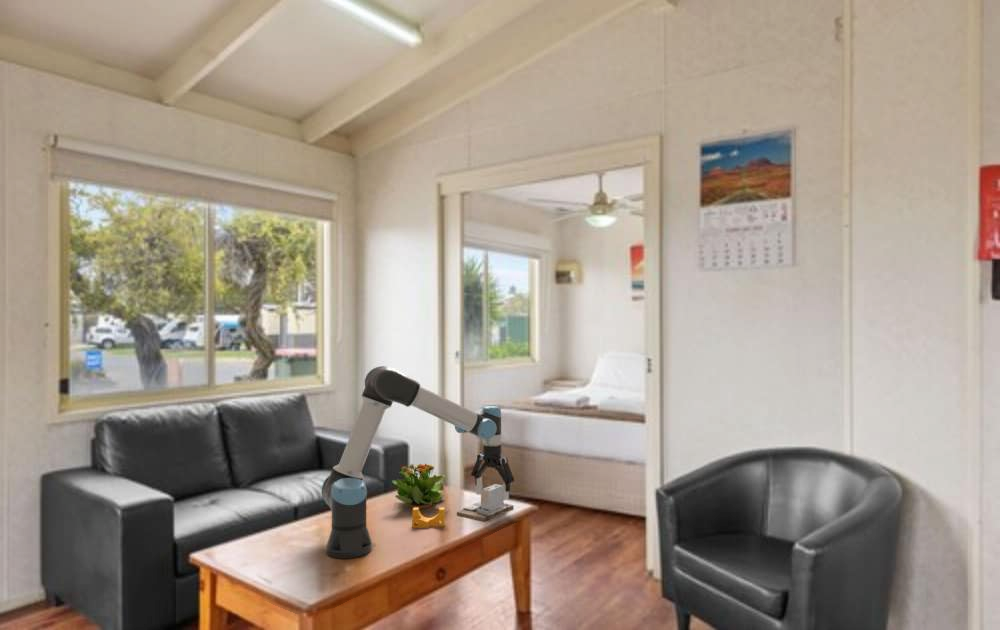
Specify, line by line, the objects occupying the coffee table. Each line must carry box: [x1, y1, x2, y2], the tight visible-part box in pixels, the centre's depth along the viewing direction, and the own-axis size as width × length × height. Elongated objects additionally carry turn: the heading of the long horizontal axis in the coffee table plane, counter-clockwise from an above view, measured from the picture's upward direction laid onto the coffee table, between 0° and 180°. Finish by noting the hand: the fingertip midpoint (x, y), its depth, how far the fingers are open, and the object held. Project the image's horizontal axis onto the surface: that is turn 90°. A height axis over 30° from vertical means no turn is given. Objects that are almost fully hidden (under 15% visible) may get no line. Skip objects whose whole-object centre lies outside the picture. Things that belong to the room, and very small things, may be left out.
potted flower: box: [391, 463, 447, 510], centre depth 259 cm, size 25×24×18 cm
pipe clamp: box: [411, 506, 446, 529], centre depth 235 cm, size 12×4×6 cm, turn 89°
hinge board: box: [456, 500, 514, 522], centre depth 251 cm, size 20×14×2 cm
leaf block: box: [480, 483, 505, 513], centre depth 249 cm, size 10×4×9 cm, turn 144°
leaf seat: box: [477, 502, 509, 516], centre depth 249 cm, size 13×6×2 cm, turn 144°
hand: (492, 496), depth 249 cm, fingers open, 13 cm apart
